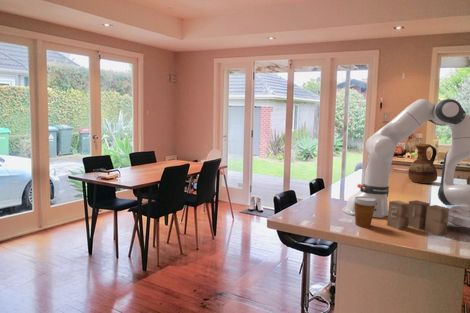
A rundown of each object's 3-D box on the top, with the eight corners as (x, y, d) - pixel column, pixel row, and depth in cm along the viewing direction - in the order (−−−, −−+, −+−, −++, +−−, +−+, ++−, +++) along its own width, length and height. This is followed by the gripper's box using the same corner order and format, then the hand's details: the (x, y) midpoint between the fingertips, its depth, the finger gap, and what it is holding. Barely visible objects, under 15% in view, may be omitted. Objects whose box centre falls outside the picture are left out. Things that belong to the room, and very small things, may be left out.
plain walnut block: (432, 229, 164) (435, 204, 162) (446, 233, 158) (449, 208, 157) (424, 231, 160) (427, 206, 159) (438, 235, 155) (440, 209, 154)
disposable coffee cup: (350, 226, 162) (353, 199, 161) (352, 220, 171) (354, 195, 170) (374, 229, 159) (376, 202, 158) (374, 223, 168) (376, 197, 167)
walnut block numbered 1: (414, 223, 171) (417, 200, 170) (426, 227, 166) (429, 203, 165) (406, 225, 168) (408, 201, 167) (418, 229, 163) (420, 204, 162)
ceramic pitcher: (402, 179, 297) (406, 142, 294) (426, 180, 299) (430, 143, 296) (417, 184, 278) (421, 144, 274) (442, 185, 280) (446, 145, 277)
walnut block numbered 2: (395, 224, 169) (398, 200, 168) (407, 228, 164) (410, 203, 163) (386, 225, 166) (388, 201, 165) (398, 229, 161) (400, 204, 160)
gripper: (437, 203, 176) (419, 206, 169) (484, 214, 158) (465, 218, 151) (436, 216, 177) (417, 219, 170) (482, 229, 159) (463, 233, 152)
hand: (440, 219), depth 160 cm, fingers closed, pressing on plain walnut block
